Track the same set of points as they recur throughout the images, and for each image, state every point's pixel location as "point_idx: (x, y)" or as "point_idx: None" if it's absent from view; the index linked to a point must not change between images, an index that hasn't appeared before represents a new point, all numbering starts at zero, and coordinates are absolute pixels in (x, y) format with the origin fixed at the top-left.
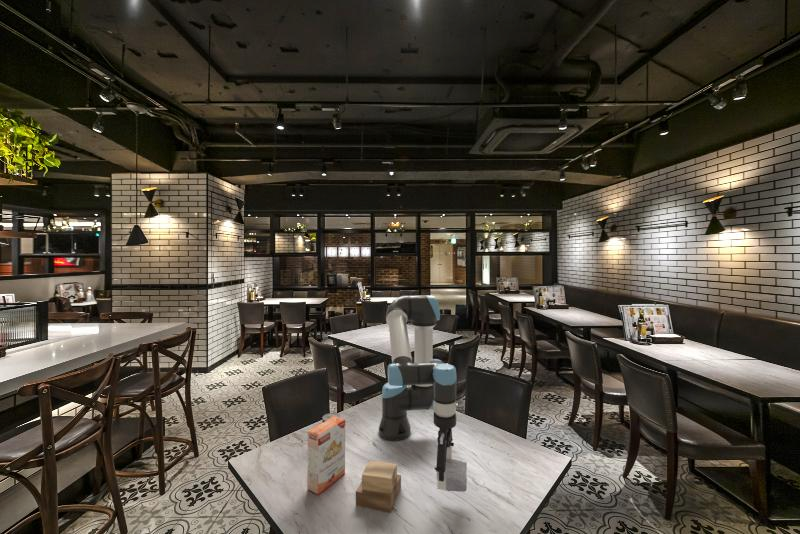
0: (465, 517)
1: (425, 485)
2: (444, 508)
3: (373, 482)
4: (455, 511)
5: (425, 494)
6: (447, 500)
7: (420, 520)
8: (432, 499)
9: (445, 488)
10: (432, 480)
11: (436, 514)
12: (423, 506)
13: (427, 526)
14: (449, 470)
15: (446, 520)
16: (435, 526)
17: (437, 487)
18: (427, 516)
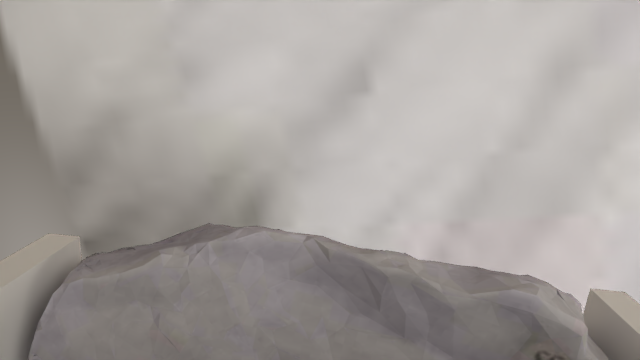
0: None
1: (502, 14)
2: (248, 206)
3: None
4: None
5: (377, 32)
6: (339, 223)
7: (73, 34)
8: (326, 103)
9: None
10: (582, 75)
11: (171, 152)
12: (227, 36)
13: (37, 97)
14: None
15: (136, 226)
16: (57, 155)
17: (32, 243)
18: (131, 85)
